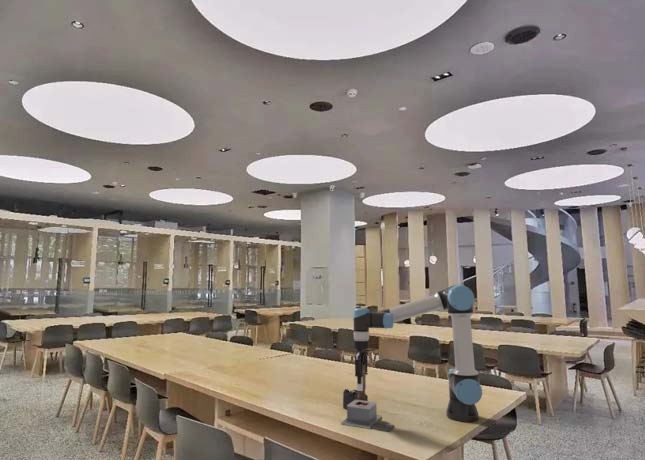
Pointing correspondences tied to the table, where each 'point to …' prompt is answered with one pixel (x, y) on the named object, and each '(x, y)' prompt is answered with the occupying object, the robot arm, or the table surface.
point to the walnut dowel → (362, 393)
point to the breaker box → (361, 414)
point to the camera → (350, 397)
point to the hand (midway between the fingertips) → (361, 389)
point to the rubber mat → (383, 427)
